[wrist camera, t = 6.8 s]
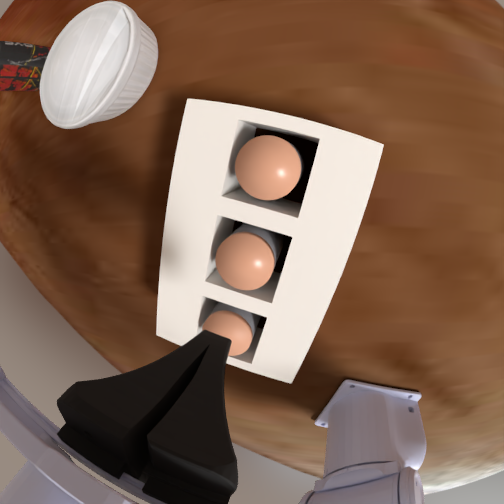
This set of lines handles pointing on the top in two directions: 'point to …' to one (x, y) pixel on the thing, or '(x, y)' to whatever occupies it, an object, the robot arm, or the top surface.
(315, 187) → the white egg carton
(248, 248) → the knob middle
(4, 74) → the deodorant
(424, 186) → the top surface
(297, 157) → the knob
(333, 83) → the top surface
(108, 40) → the ramekin
